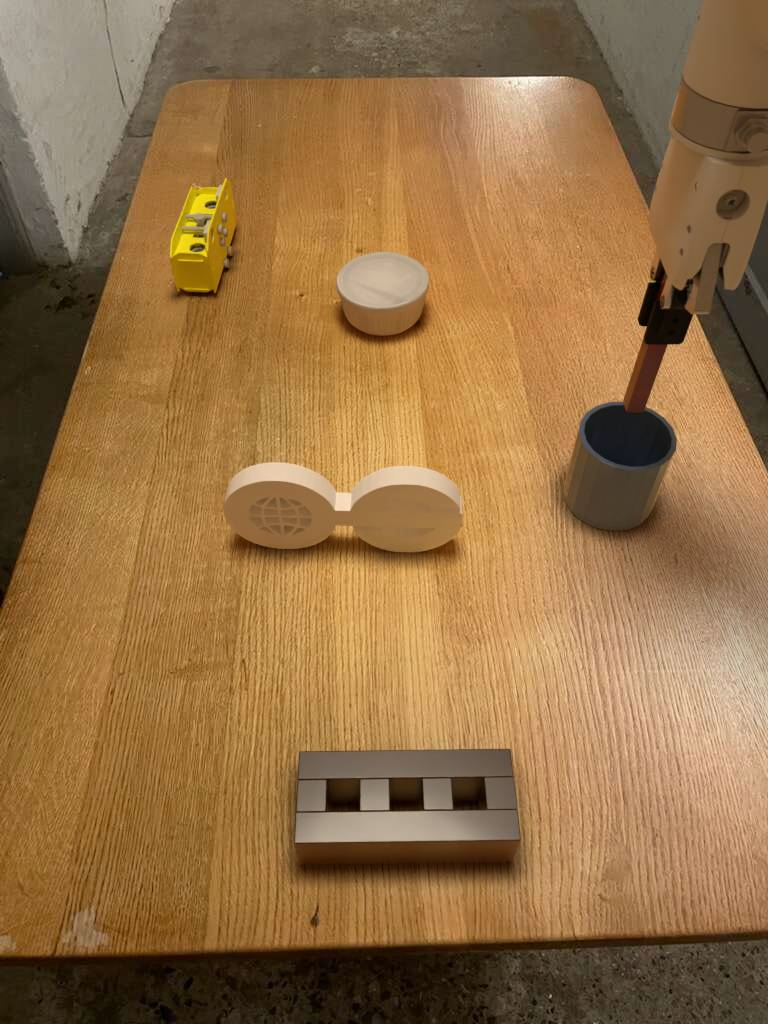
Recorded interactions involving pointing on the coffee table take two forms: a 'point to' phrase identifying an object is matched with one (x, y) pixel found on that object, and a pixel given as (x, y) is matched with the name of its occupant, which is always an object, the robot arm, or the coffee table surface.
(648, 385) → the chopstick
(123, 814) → the coffee table surface
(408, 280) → the ramekin
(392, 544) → the contact lens case
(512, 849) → the holder
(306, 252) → the coffee table surface
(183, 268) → the yellow toy chassis
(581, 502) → the cup
